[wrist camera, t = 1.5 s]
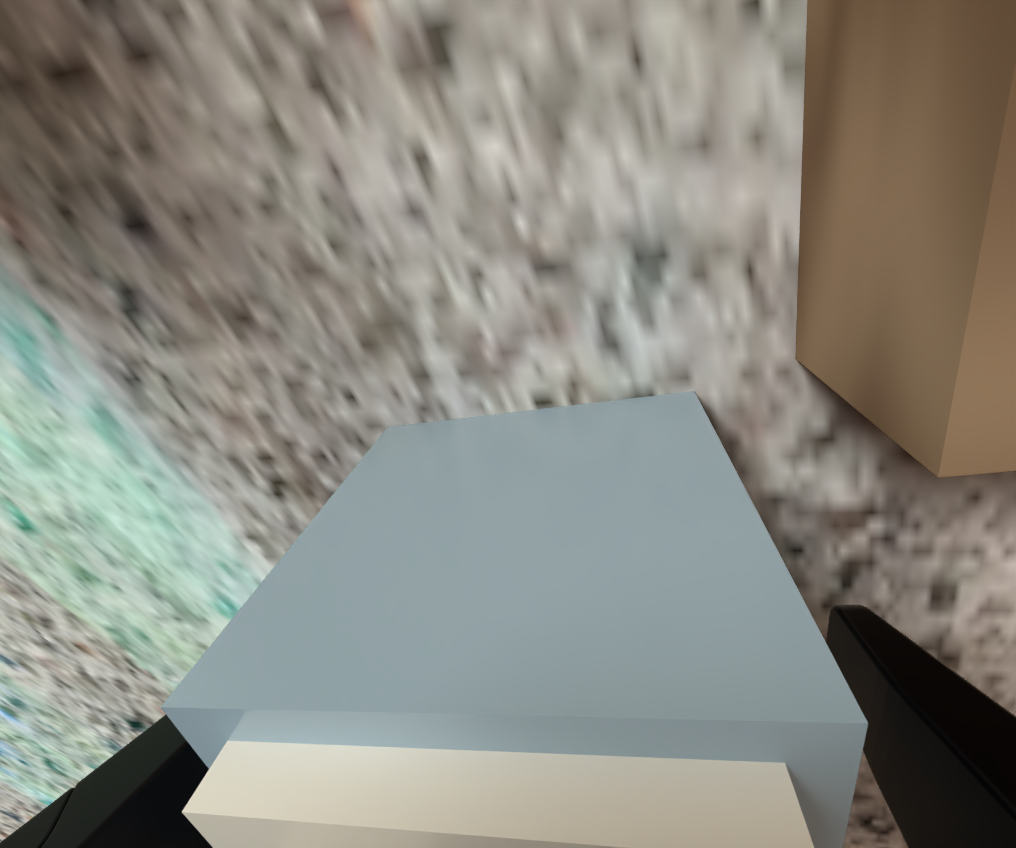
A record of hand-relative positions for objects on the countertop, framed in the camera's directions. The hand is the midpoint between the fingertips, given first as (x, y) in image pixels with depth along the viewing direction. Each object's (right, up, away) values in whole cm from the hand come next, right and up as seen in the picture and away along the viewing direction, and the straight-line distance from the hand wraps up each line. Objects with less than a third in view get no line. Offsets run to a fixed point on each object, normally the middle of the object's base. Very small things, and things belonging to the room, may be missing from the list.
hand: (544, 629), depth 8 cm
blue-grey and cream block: (0, +1, +2) cm, 3 cm away
